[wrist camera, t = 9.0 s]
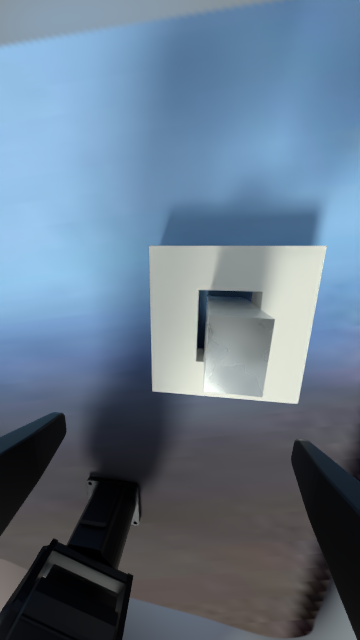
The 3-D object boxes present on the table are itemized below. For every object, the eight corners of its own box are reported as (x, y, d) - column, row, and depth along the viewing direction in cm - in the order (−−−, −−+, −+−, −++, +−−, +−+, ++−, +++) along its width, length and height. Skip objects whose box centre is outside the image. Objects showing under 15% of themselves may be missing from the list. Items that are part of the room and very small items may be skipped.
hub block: (283, 383, 19) (297, 403, 16) (159, 374, 20) (152, 391, 17) (304, 250, 16) (326, 245, 13) (158, 249, 17) (149, 245, 14)
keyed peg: (243, 297, 17) (274, 319, 10) (238, 346, 19) (261, 400, 11) (207, 295, 18) (209, 315, 10) (203, 343, 19) (203, 394, 11)
